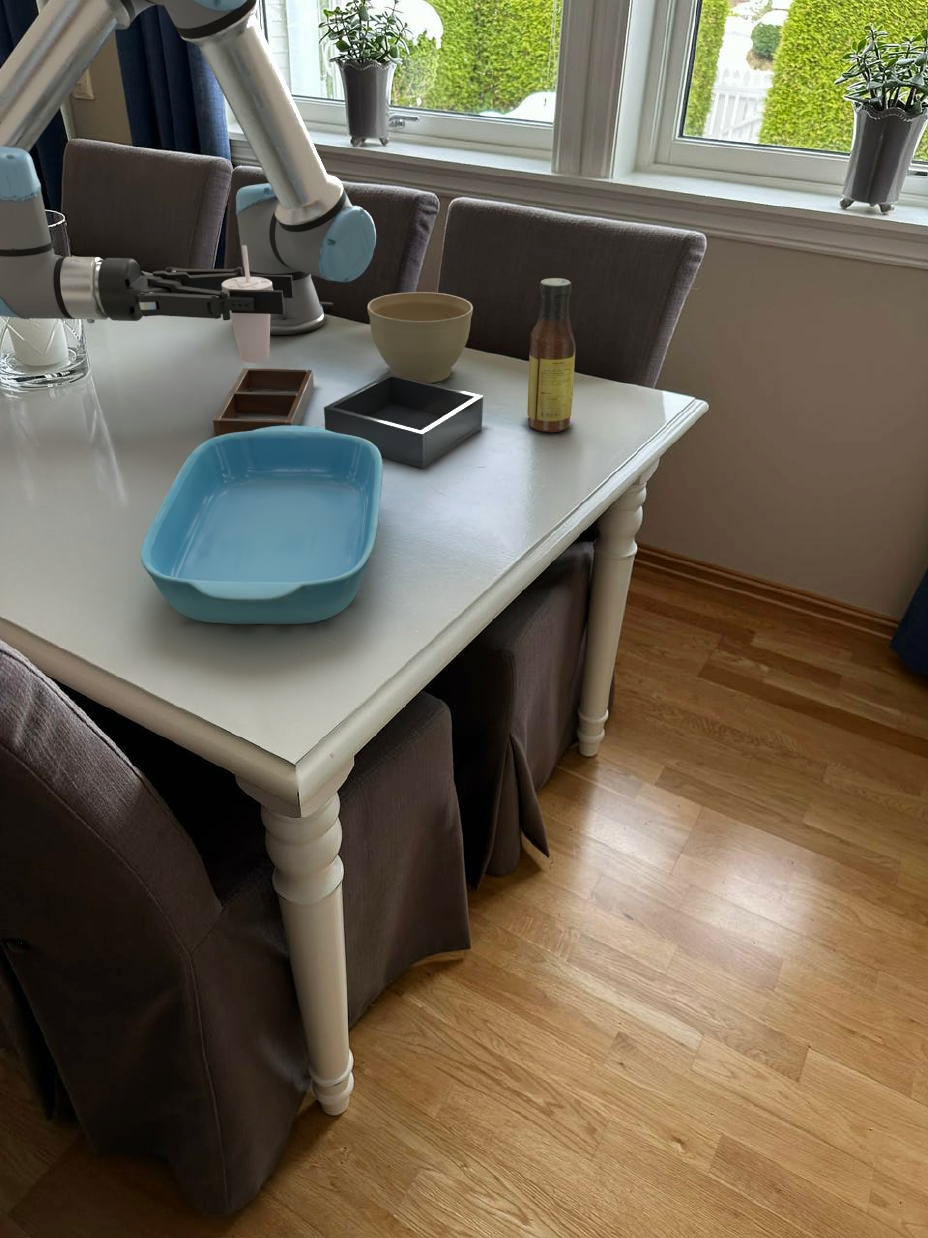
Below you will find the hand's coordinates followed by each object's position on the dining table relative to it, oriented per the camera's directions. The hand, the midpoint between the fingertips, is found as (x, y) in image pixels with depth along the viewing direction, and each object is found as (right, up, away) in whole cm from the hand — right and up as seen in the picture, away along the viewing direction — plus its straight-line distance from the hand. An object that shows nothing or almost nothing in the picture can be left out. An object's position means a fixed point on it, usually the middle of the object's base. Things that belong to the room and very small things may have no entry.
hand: (287, 294), depth 115 cm
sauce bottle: (+34, -14, +14) cm, 40 cm away
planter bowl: (+16, -2, +29) cm, 33 cm away
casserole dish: (+2, -34, -17) cm, 38 cm away
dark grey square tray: (+14, -16, +10) cm, 24 cm away
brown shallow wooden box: (-6, -12, +14) cm, 20 cm away
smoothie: (-5, -7, +5) cm, 10 cm away
